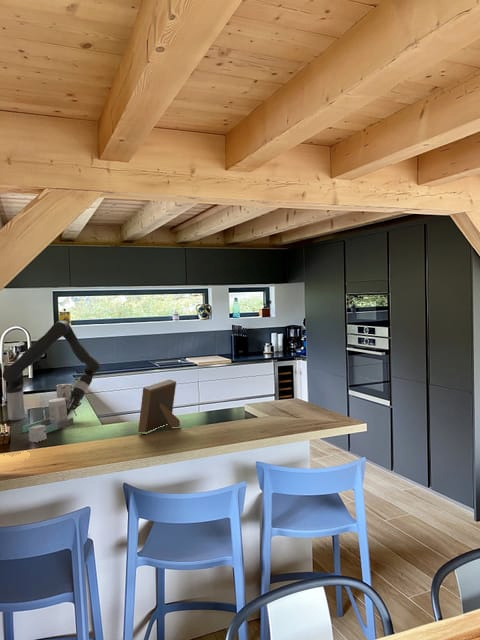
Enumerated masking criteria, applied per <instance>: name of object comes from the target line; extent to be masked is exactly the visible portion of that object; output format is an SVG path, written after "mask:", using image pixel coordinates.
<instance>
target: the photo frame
mask: <svg viewBox="0 0 480 640" xmlns="http://www.w3.org/2000/svg"><path fill="white" fill-rule="evenodd" d="M176 386H177V381H176V380H172V379H166V380H164V381H161V382H160V381H159V382H158V383H154V384H151V385H147V386H145V387H142V396H141V404H140V412H139V421H138V431H137V433H138V432H148V431H150V430H153V429H155V428H158V427H160V426H163V425H166V424H169V425H168V426H170V428H171V427H179V426H180V427H181V421H180V418H178V417H177V416H176V415H175V414H174V413H173V411H174V403H175V394H176Z"/></svg>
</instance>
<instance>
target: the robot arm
mask: <svg viewBox="0 0 480 640" xmlns="http://www.w3.org/2000/svg"><path fill="white" fill-rule="evenodd" d="M62 337H63V338H64V339H65V340H66V341H67V343H68V344H69V346H70V349H71V350H72V352H73V354H74V356H75V357H76V358H77V360H78V361H79V362H80V363H82V364H85V365H86V366H85V367H84V370H83V372H82V374H81V376H80V378H79V380H78V382H77V383H76V384H75V387H74V389H73V391H72V392H71V397H70V398H69V400H65V401H66V408H67V417H68V416H69V415H70V413H71V411H74V410H76V409H77V408H78V407H80V406H81V405H82V402H81V401H82V400H83V398H84V396H85V395H86V393H87V391H88V389H89V387H90V385H91V384H92V381H93V377H94V375H95V374H96V373H98V372H99V371H100V369H101V365H100V363H99V362H98V361H97V359H95V358H94V357H93V356H91V354H90V353H89V352H88V350H86V348H85V347H84V346H83V344H82V343H81V342H80V340H79V339H78V337H77V336H76V334H75V332H74V330H73V328H72V327H71V325H70V324H69V322H68V321H66V320H59V321H57V322H56V321H55V323H54V324H53V325H52V326H51V327H50V328H49V330H48V331H47V332H45V334H44V335H43V336H41V337H40V338H39V339H38V340H36V341H35V342H33V344H32V345H30V346H29V347H28V348H27V349H26V350H25V352H23V353H22V354H21V355H20V357H19V358H18V359H17V360H15V362H13V363H12V364H11V365H8V367H6V368H4V370H3V373H2V379H3V380H4V381H5V382H7V383H8V384H7V387H6V397H7V399H6V400H7V405H6V406H7V415H8V416H7V417H8V420H9V421H20V420H23V419H25V418H26V409H25V398H24V390H23V389H24V385H25V383H24V382H25V381H24V371H25V370H26V369H27V368H28V367H30V366H32V365H33V364H35V363H36V362H37V361H39V360H40V359H41V358H42V357H43V356H45V355H46V353H47V352H48V351H49V349H50V348H51V347H52V346H53V344H54V343H55V342H57V341H58V340H60V338H62Z"/></svg>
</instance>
